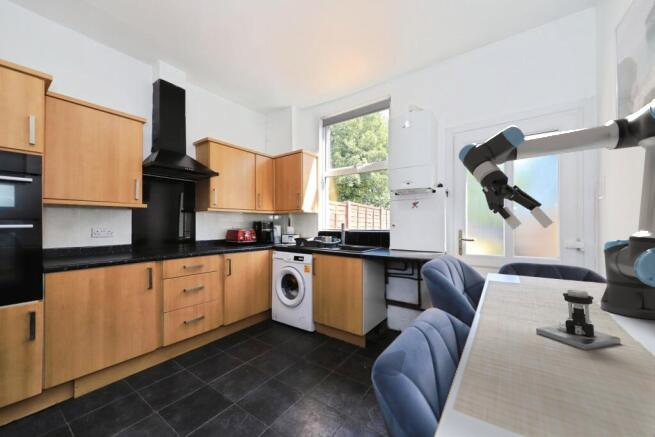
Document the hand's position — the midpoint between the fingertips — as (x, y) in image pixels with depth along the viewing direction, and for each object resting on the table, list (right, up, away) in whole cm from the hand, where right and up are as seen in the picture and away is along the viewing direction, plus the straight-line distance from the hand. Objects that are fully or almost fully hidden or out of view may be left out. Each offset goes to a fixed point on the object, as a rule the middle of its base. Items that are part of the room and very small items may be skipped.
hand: (533, 226), depth 75 cm
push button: (0, -26, -13) cm, 29 cm away
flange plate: (-1, -27, -14) cm, 30 cm away
